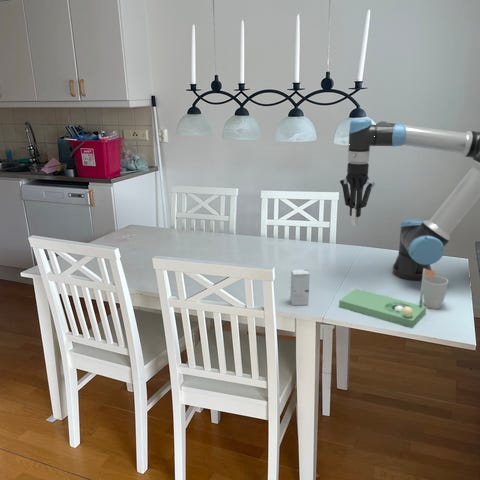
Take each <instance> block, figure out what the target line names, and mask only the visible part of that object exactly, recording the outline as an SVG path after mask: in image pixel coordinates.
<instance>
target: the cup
mask: <svg viewBox="0 0 480 480" xmlns="http://www.w3.org/2000/svg"><path fill="white" fill-rule="evenodd" d="M448 285H449V280H448V279H447V278H446V277H442V276H439V275H435V278H431V277H427V276H425V280H424V289H423V298H422V299H423V302H424V306H425V307H426V308H428V309H431V310H437V309H440V308H441V307H442V305H443V302H444V300H445V297H446V295H447V290H448Z"/></svg>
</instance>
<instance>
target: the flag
mask: <svg viewBox="0 0 480 480" xmlns="http://www.w3.org/2000/svg"><path fill="white" fill-rule="evenodd" d="M425 276H427V277H431V278H435V276H436V270H432V269H431V270H427V269H425V268H423V275H422V280H421V285H420V286H421V287H420V293H419V294H420V295H419V296H420V297H419V304H418V305H419V307H420V308H421V307H422V306H423V299H424V298H423V289H424V280H425Z"/></svg>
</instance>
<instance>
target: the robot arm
mask: <svg viewBox="0 0 480 480" xmlns="http://www.w3.org/2000/svg"><path fill="white" fill-rule="evenodd" d="M375 124H376V125H375ZM375 124H373V123H372V119H370V118H354V119H351V120H350V122H349V130H348V149H347V150H348V151H347V152H348V153H347V154H348V155H347V162H348V163H347V169H346V172H347V174H346V176H345V178H344V179H341V180H339V183H340V185H341V188H342V193H343V199H344V205H345V206H347V207H349V216H350V217H351V219H350V220H351V222H350V225H351V226H354V227H355V226H357V225H359V217H361V214H362V209H363V208H366V206H367V204H368V201H369V199H370V195H371V191H372V189H373V187H374V186H375V182H371V181H370V179H369V175H368V174H369V162H370V149H371V147H402V146H408V147H414V148H419V149H420V148H422V149H428V150H437V151H443V152H450V153H456V154H460V155H461V156H462V157H466V158H471V159H472V160H471V163H472V167H471V168H470V169H469V171H468V172H467V173H466V174H465V175H464V177H462V179H461V180H460V181H459V182H458V184H457V185H456V186H455V187H454V189H453V190H452V192H451V193H450V194H449V196H448V197H447V198H446V199H445V200H444V202H443V203H442V204H441V205H440V207H439V208H438V209H437V210H436V211H435V213H434V214H433V215H432V217H431V218H430V219H429V220H428V219H418V218H409V219H408V218H407V219H403V220H402V221H401V222H400V233H399V244H398V245H399V246H398V254H397V256H396V259H395V261H394V263H393V266H392V274H393V275H395V276H396V277H399V278H401V279H403V280H409V281H422V275H423V268H425V269H427V270H432V268H431V267H432V266H431V265H434V264H435V263H437V262H439V261H440V260H441V258H442V257H443V256H444V252H445V247H446V245H447V244H448V243H449V242H450V240H451V238H450V234H451V233H452V231H453V230H454V229H455V228H456V226H457V225H458V224H459V223H460V222H461V220H462V219H463V218H464V217H465V215H467V213H468V212H469V211H470V209H472V208H473V206H474V205H475V204H476V202H477V201H478V200H479V199H480V131H477V130H476V131H474V130H467V131H466V132H460V131H454V130H446V129H445V130H444V129H440V128H438V129H437V128H430V127H423V126H415V125H408V124H402V123H401V124H400V123H399V124H397V123H393V122H387V121H383V120H382V121H379V122H376V123H375ZM374 136H375V137H374ZM349 144H350V145H349ZM365 186H366V187H365ZM364 187H365V189H364Z"/></svg>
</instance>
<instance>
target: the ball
mask: <svg viewBox="0 0 480 480" xmlns="http://www.w3.org/2000/svg"><path fill="white" fill-rule="evenodd" d="M394 310H396V311H402V310H403V307H402V306H396V307H395V308H394Z"/></svg>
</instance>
